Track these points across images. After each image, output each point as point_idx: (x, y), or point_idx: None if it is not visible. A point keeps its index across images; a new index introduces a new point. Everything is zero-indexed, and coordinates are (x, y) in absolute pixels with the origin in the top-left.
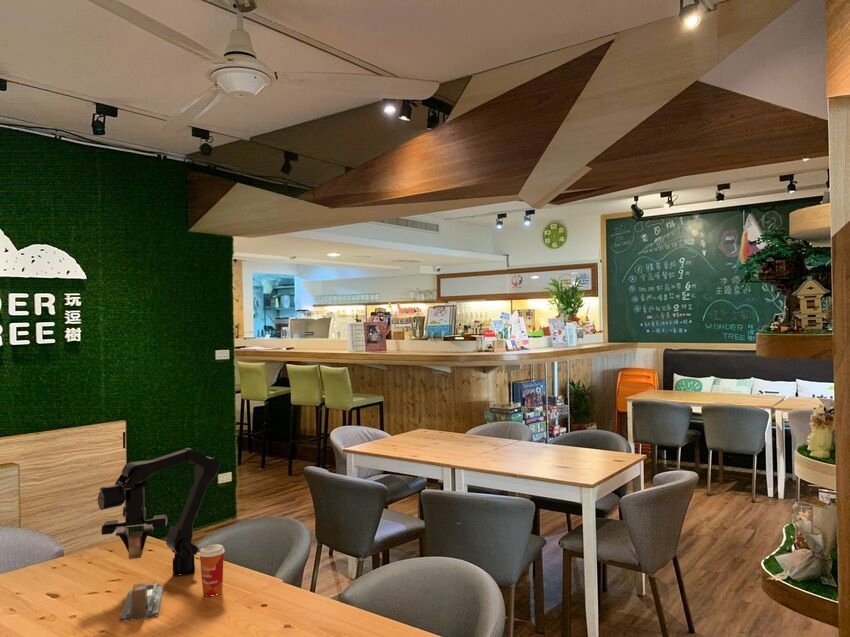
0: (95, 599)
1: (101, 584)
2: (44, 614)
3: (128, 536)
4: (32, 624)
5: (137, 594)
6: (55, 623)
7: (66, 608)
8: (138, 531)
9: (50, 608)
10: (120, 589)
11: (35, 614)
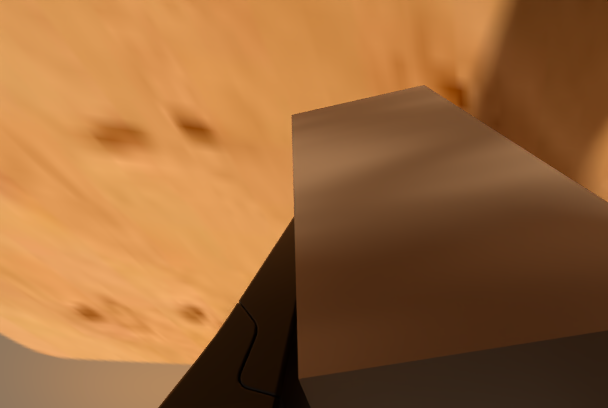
0: (187, 210)
1: (78, 14)
2: (73, 297)
3: (296, 396)
4: (96, 342)
5: None
6: (168, 342)
7: (119, 267)
8: (598, 329)
9: (49, 261)
10: (251, 117)
11: (36, 294)
